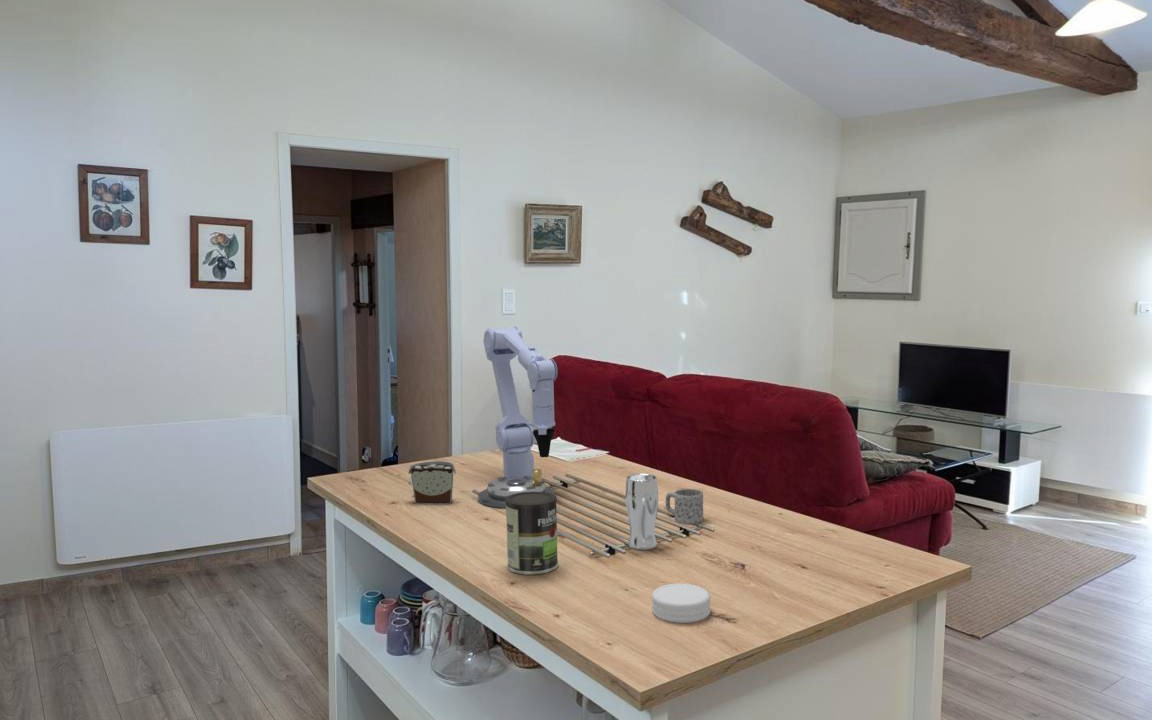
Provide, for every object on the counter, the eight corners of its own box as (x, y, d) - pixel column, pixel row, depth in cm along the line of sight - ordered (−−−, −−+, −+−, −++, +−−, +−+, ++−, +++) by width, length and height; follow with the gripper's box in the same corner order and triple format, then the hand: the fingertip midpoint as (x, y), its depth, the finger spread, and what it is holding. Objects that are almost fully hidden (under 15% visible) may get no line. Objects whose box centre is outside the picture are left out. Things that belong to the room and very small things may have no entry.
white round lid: (645, 620, 142) (644, 600, 141) (660, 598, 151) (660, 579, 151) (703, 628, 138) (703, 607, 138) (715, 605, 147) (715, 586, 147)
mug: (708, 519, 198) (708, 491, 197) (692, 526, 193) (692, 497, 192) (674, 512, 204) (674, 485, 204) (657, 518, 199) (657, 490, 199)
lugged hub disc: (504, 483, 229) (503, 460, 229) (554, 488, 224) (553, 464, 223) (477, 497, 216) (476, 473, 215) (530, 502, 210) (529, 477, 209)
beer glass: (637, 553, 175) (636, 482, 173) (620, 544, 181) (619, 476, 179) (665, 547, 178) (664, 478, 176) (647, 538, 184) (646, 471, 183)
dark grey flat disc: (500, 485, 233) (500, 481, 233) (566, 491, 225) (566, 486, 225) (464, 504, 214) (464, 499, 214) (535, 511, 207) (534, 506, 207)
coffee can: (568, 562, 170) (566, 494, 169) (539, 578, 161) (537, 507, 160) (526, 554, 176) (524, 488, 174) (496, 569, 167) (494, 500, 165)
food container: (462, 498, 221) (460, 460, 220) (456, 504, 215) (455, 466, 214) (416, 497, 222) (415, 460, 221) (409, 504, 216) (408, 466, 215)
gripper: (529, 401, 227) (531, 451, 228) (525, 410, 212) (527, 463, 214) (555, 401, 227) (556, 450, 228) (553, 410, 212) (555, 462, 214)
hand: (544, 456), depth 221 cm, fingers closed
